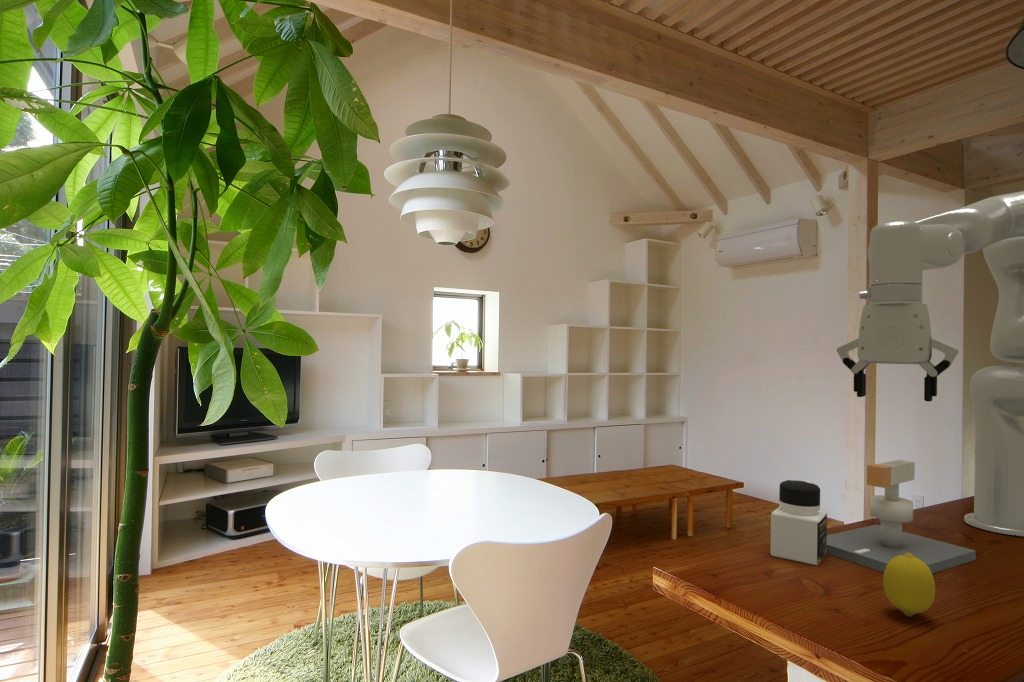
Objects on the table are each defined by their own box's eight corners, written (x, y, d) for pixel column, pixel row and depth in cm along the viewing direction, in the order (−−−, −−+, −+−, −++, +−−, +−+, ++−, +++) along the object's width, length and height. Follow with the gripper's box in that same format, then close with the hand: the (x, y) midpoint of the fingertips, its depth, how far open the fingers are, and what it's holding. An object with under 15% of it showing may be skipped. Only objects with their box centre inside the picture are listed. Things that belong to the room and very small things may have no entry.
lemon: (874, 605, 79) (875, 544, 80) (919, 608, 79) (920, 547, 79) (896, 624, 74) (897, 559, 74) (944, 627, 73) (945, 562, 73)
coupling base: (876, 532, 112) (876, 500, 112) (975, 559, 98) (976, 523, 98) (809, 547, 102) (809, 512, 102) (909, 580, 88) (909, 539, 89)
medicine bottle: (818, 566, 94) (819, 489, 94) (769, 556, 98) (771, 482, 98) (826, 554, 99) (827, 481, 99) (780, 545, 104) (781, 475, 104)
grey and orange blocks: (894, 527, 95) (895, 469, 95) (855, 517, 100) (856, 463, 100) (925, 516, 101) (926, 463, 101) (887, 508, 106) (888, 457, 106)
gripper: (832, 297, 104) (830, 396, 104) (955, 292, 92) (954, 404, 92) (843, 300, 109) (842, 394, 109) (961, 296, 98) (960, 401, 98)
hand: (893, 398), depth 101 cm, fingers open, 9 cm apart
